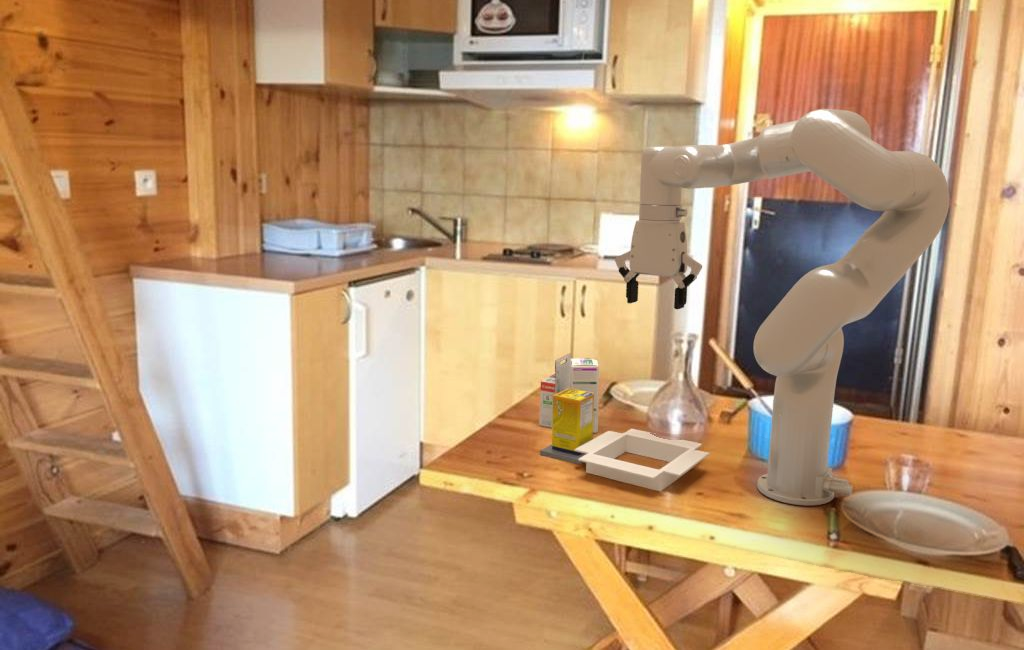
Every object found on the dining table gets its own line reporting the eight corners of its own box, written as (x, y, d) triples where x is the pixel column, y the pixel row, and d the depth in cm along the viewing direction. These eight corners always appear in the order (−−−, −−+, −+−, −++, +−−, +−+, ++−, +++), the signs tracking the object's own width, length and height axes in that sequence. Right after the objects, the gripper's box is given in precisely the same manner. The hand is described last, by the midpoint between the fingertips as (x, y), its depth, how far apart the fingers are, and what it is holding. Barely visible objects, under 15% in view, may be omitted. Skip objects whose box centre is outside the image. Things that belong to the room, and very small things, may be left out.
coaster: (604, 450, 165) (604, 446, 165) (580, 464, 158) (581, 460, 157) (564, 441, 170) (564, 437, 170) (539, 454, 163) (540, 450, 162)
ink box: (538, 426, 179) (539, 358, 176) (554, 416, 186) (556, 350, 183) (554, 429, 177) (556, 360, 174) (569, 418, 184) (571, 352, 181)
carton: (716, 465, 158) (717, 447, 157) (669, 501, 142) (670, 481, 141) (617, 442, 170) (617, 425, 169) (563, 473, 153) (563, 455, 152)
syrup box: (598, 433, 175) (600, 364, 172) (569, 433, 175) (571, 364, 172) (596, 424, 180) (598, 358, 177) (568, 424, 180) (570, 357, 177)
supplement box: (566, 441, 168) (567, 387, 165) (593, 447, 164) (595, 392, 162) (550, 449, 163) (552, 394, 160) (578, 456, 160) (580, 400, 157)
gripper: (712, 215, 156) (706, 307, 159) (627, 210, 166) (623, 297, 169) (695, 218, 150) (690, 313, 153) (608, 212, 160) (605, 303, 163)
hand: (655, 305), depth 161 cm, fingers open, 9 cm apart
